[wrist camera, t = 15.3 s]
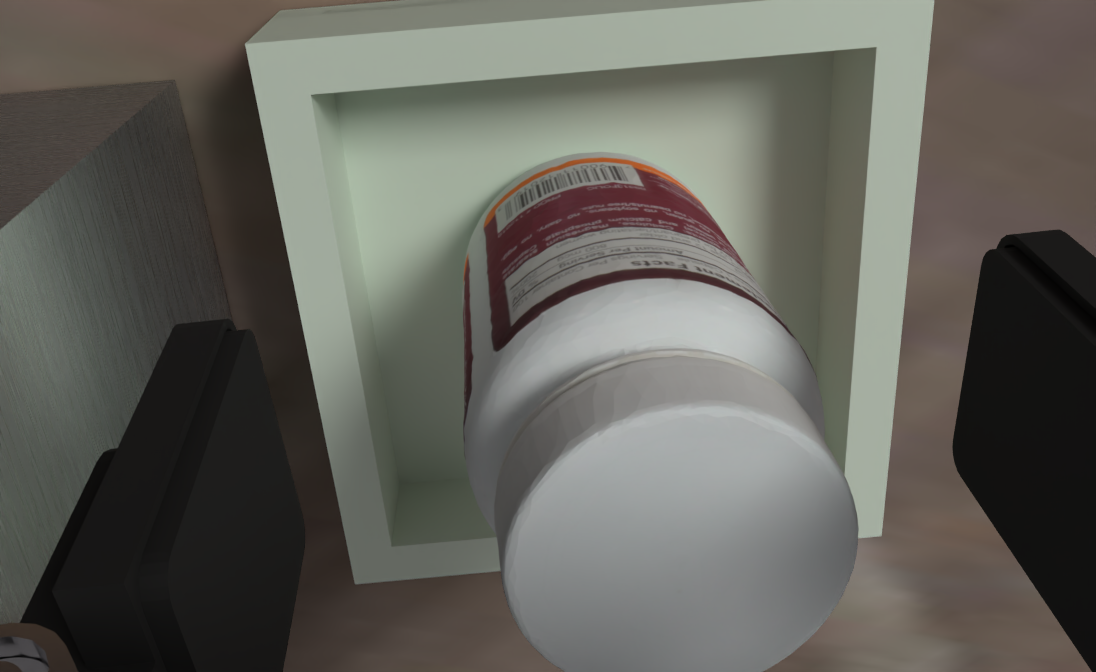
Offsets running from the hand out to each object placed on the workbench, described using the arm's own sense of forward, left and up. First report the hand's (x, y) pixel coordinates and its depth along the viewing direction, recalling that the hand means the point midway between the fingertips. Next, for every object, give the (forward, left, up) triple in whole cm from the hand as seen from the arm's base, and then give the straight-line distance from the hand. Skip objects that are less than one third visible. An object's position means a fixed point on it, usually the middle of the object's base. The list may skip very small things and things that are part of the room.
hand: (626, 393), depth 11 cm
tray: (+2, 0, -8) cm, 8 cm away
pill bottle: (+2, 0, -7) cm, 8 cm away
